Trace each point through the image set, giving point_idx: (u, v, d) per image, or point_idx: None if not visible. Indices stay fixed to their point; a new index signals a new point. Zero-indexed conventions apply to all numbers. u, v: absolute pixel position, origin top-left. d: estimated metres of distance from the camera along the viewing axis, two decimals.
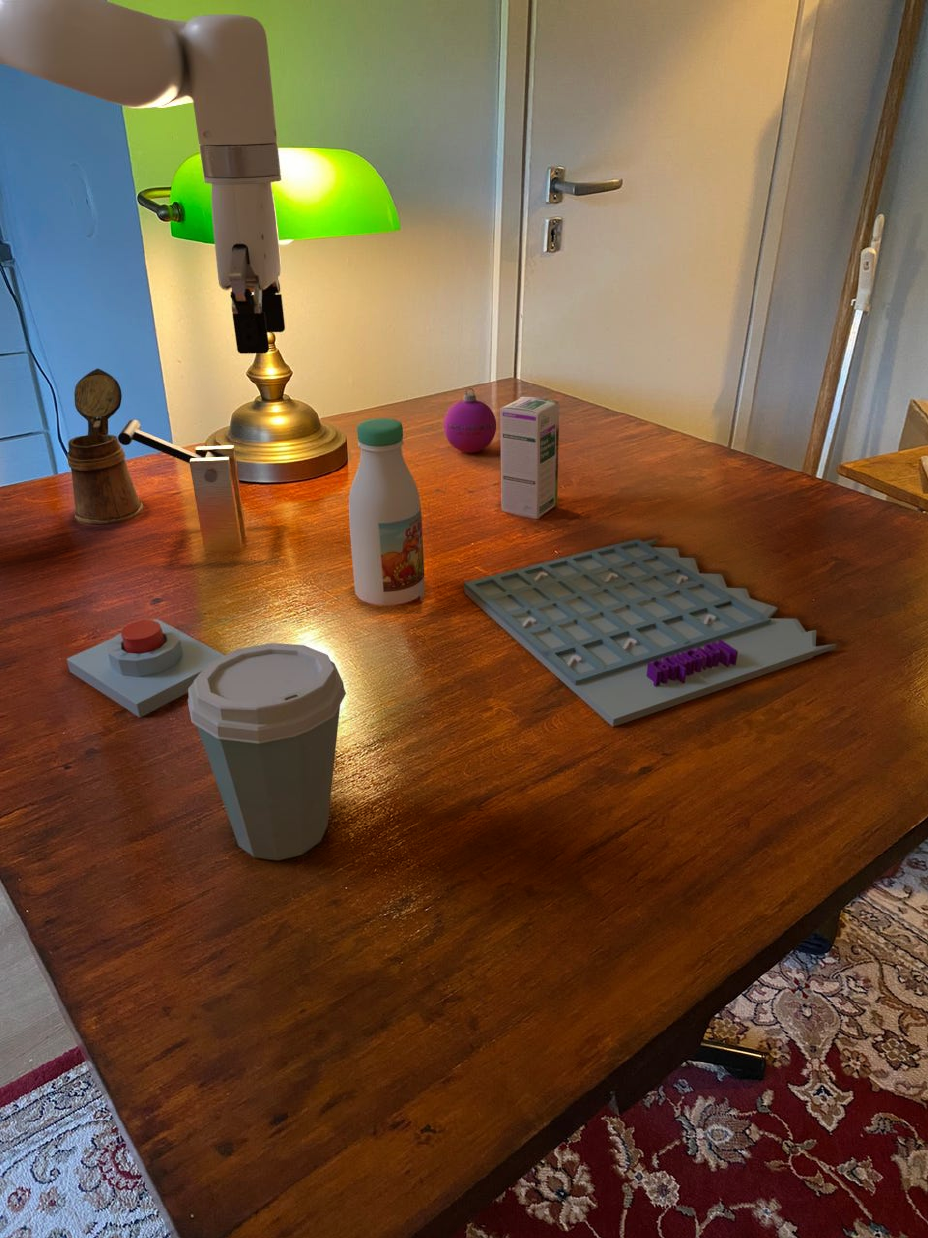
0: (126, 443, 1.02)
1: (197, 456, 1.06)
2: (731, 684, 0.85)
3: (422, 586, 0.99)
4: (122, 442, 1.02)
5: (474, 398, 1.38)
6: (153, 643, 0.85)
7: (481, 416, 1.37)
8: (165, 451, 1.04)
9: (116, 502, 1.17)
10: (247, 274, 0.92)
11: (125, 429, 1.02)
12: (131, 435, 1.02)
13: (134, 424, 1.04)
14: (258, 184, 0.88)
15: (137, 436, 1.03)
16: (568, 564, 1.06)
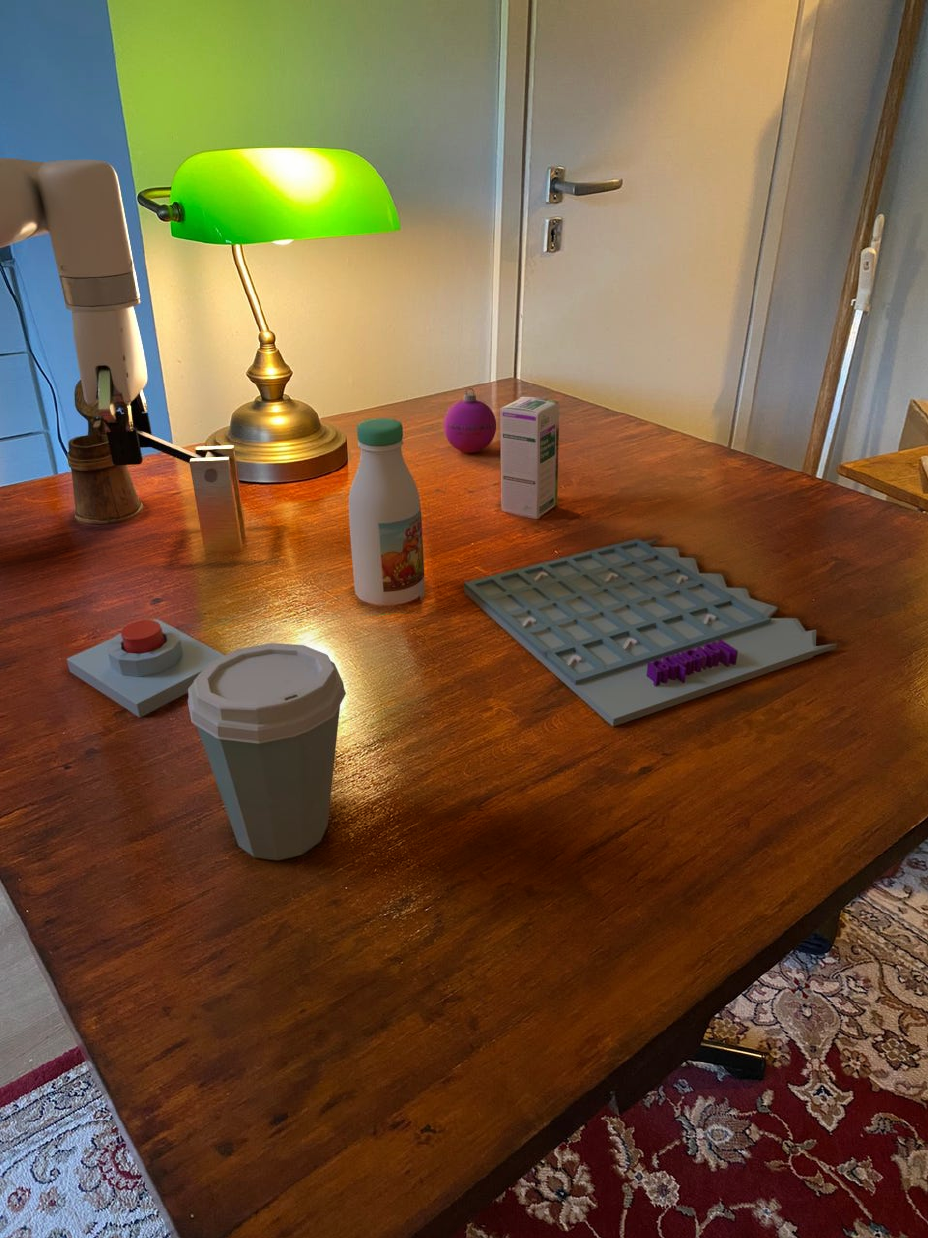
0: None
1: (197, 456, 1.06)
2: (731, 684, 0.85)
3: (422, 586, 0.99)
4: None
5: (474, 398, 1.38)
6: (153, 643, 0.85)
7: (481, 416, 1.37)
8: (165, 451, 1.04)
9: (116, 502, 1.17)
10: None
11: None
12: None
13: (134, 424, 1.04)
14: (117, 311, 0.94)
15: None
16: (568, 564, 1.06)
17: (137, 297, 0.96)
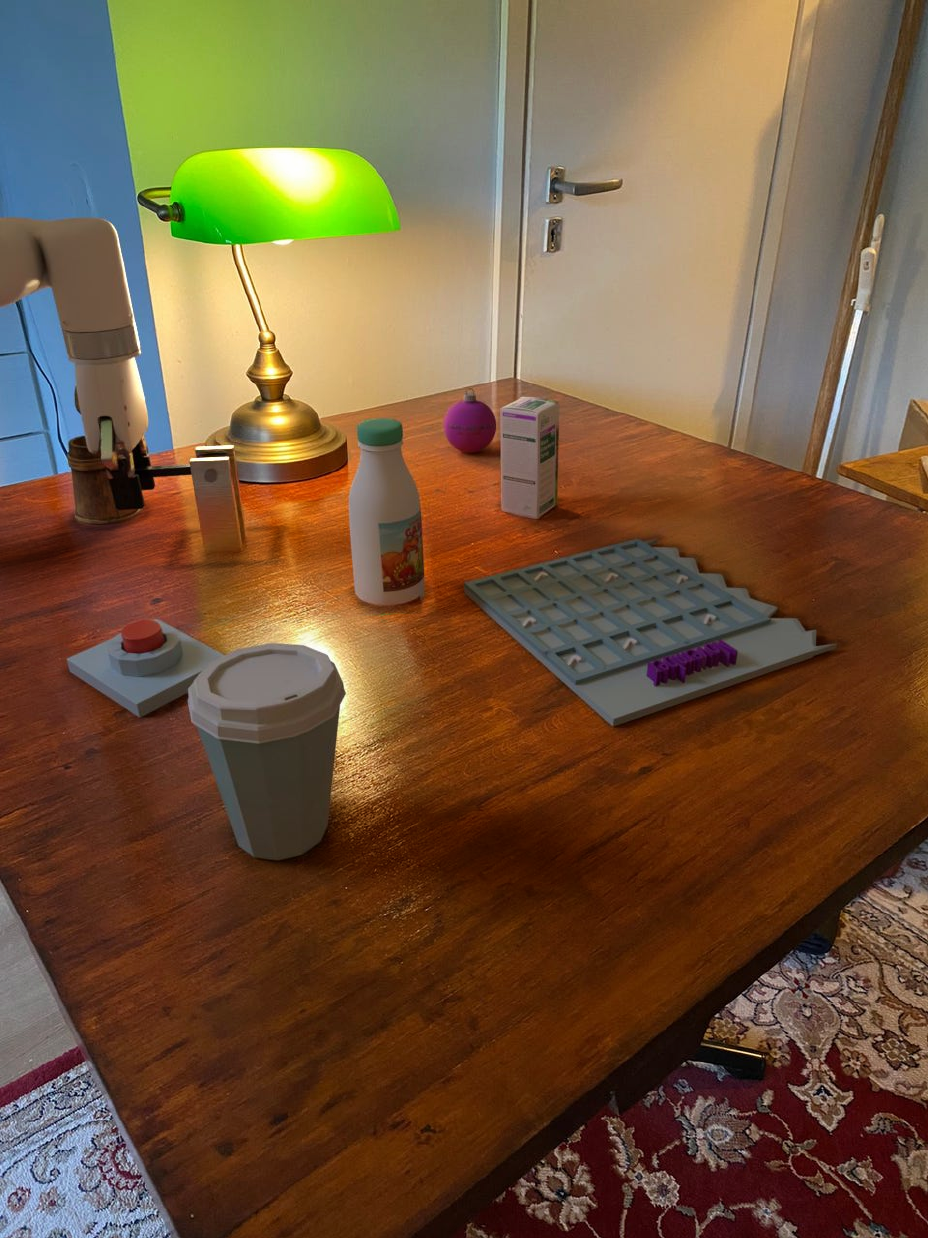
0: None
1: None
2: (731, 684, 0.85)
3: (422, 586, 0.99)
4: None
5: (474, 398, 1.38)
6: (153, 643, 0.85)
7: (481, 416, 1.37)
8: (165, 474, 1.06)
9: None
10: None
11: None
12: None
13: None
14: (118, 363, 0.97)
15: (135, 473, 1.05)
16: (568, 564, 1.06)
17: (137, 348, 0.99)
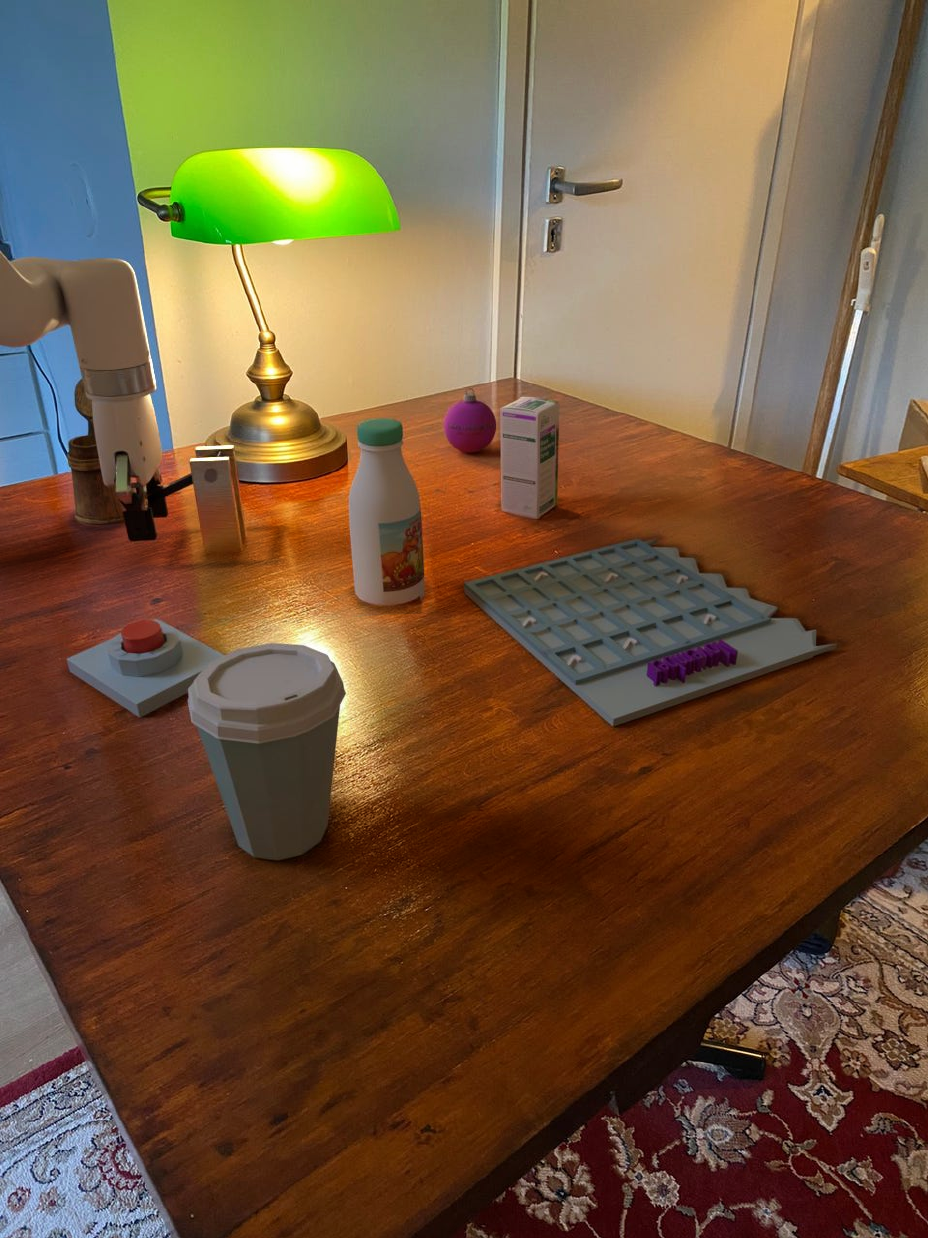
0: None
1: None
2: (731, 684, 0.85)
3: (422, 586, 0.99)
4: None
5: (474, 398, 1.38)
6: (153, 643, 0.85)
7: (481, 416, 1.37)
8: (173, 491, 1.07)
9: (116, 502, 1.17)
10: None
11: None
12: None
13: (139, 494, 1.08)
14: (134, 400, 0.99)
15: None
16: (568, 564, 1.06)
17: (153, 385, 1.01)
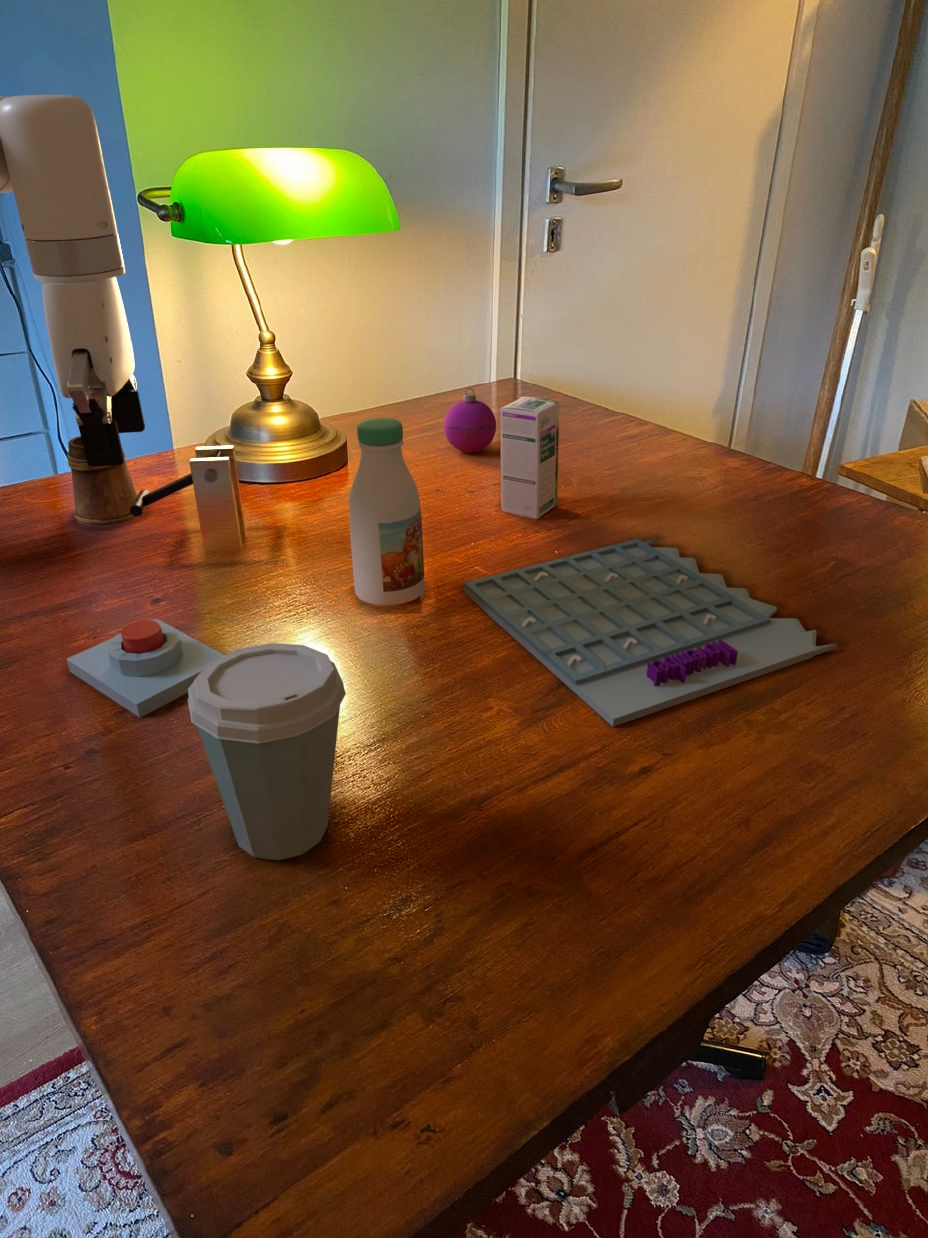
0: (140, 512, 1.06)
1: None
2: (731, 684, 0.85)
3: (422, 586, 0.99)
4: (137, 514, 1.06)
5: (474, 398, 1.38)
6: (153, 643, 0.85)
7: (481, 416, 1.37)
8: (173, 491, 1.07)
9: (116, 502, 1.17)
10: (92, 379, 0.81)
11: (133, 503, 1.07)
12: (138, 503, 1.06)
13: (139, 494, 1.08)
14: (97, 281, 0.77)
15: (146, 500, 1.07)
16: (568, 564, 1.06)
17: (121, 266, 0.79)
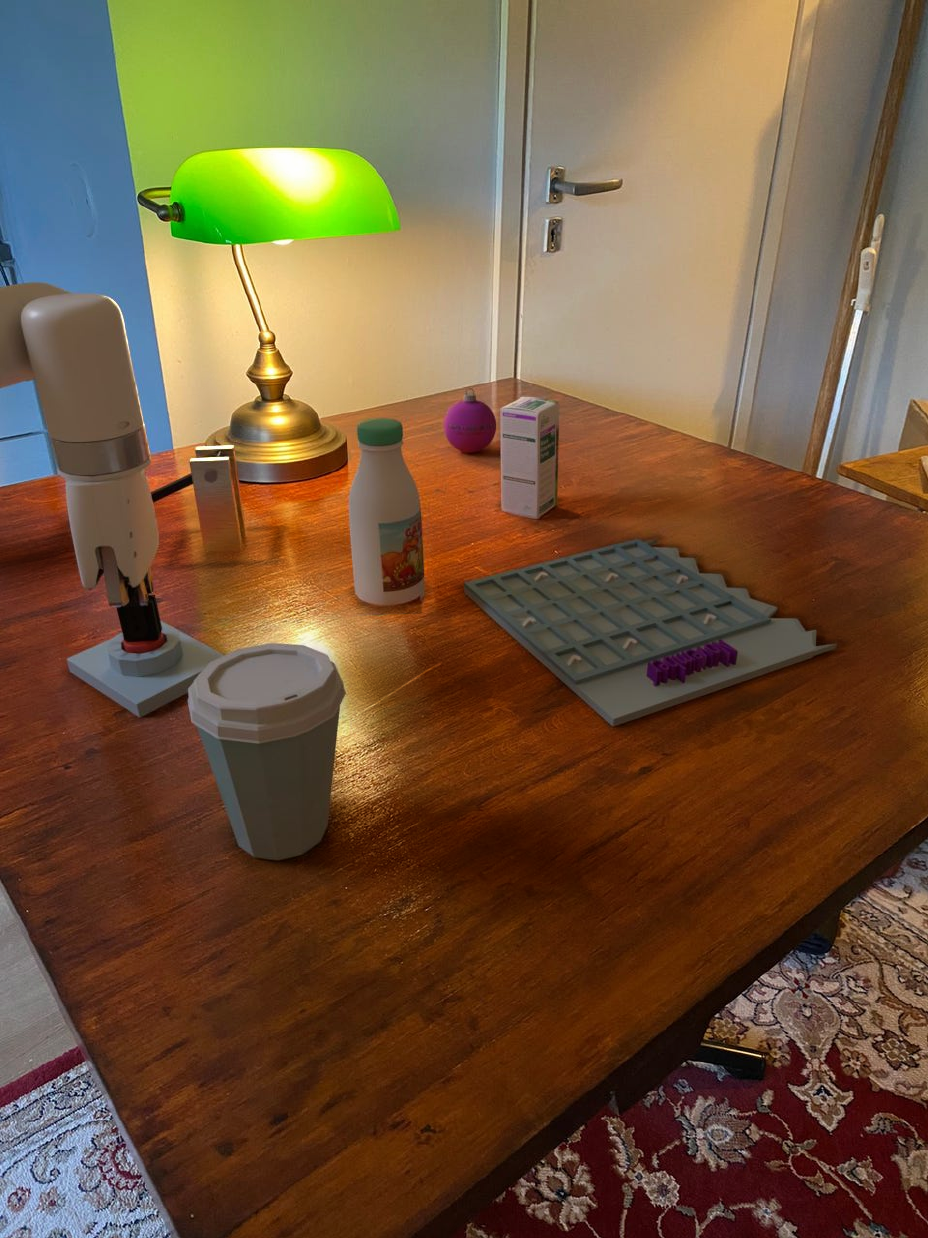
0: None
1: None
2: (731, 684, 0.85)
3: (422, 586, 0.99)
4: None
5: (474, 398, 1.38)
6: None
7: (481, 416, 1.37)
8: (173, 491, 1.07)
9: None
10: None
11: None
12: None
13: None
14: (122, 479, 0.75)
15: None
16: (568, 564, 1.06)
17: (147, 457, 0.77)
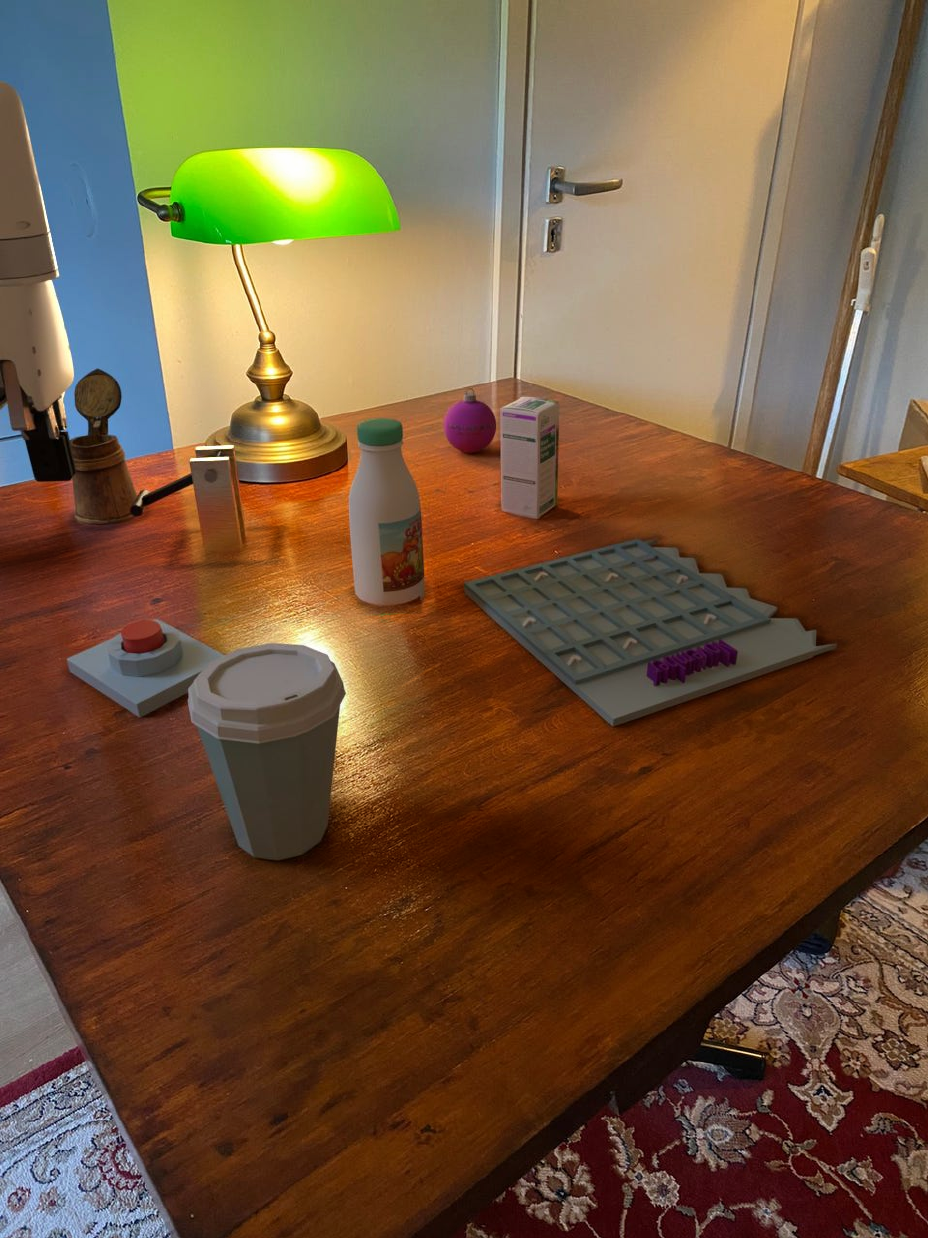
0: (140, 512, 1.06)
1: None
2: (731, 684, 0.85)
3: (422, 586, 0.99)
4: (137, 514, 1.06)
5: (474, 398, 1.38)
6: (153, 643, 0.85)
7: (481, 416, 1.37)
8: (173, 491, 1.07)
9: (116, 502, 1.17)
10: None
11: (133, 503, 1.07)
12: (138, 503, 1.06)
13: (139, 494, 1.08)
14: (23, 286, 0.70)
15: (146, 500, 1.07)
16: (568, 564, 1.06)
17: (53, 269, 0.72)
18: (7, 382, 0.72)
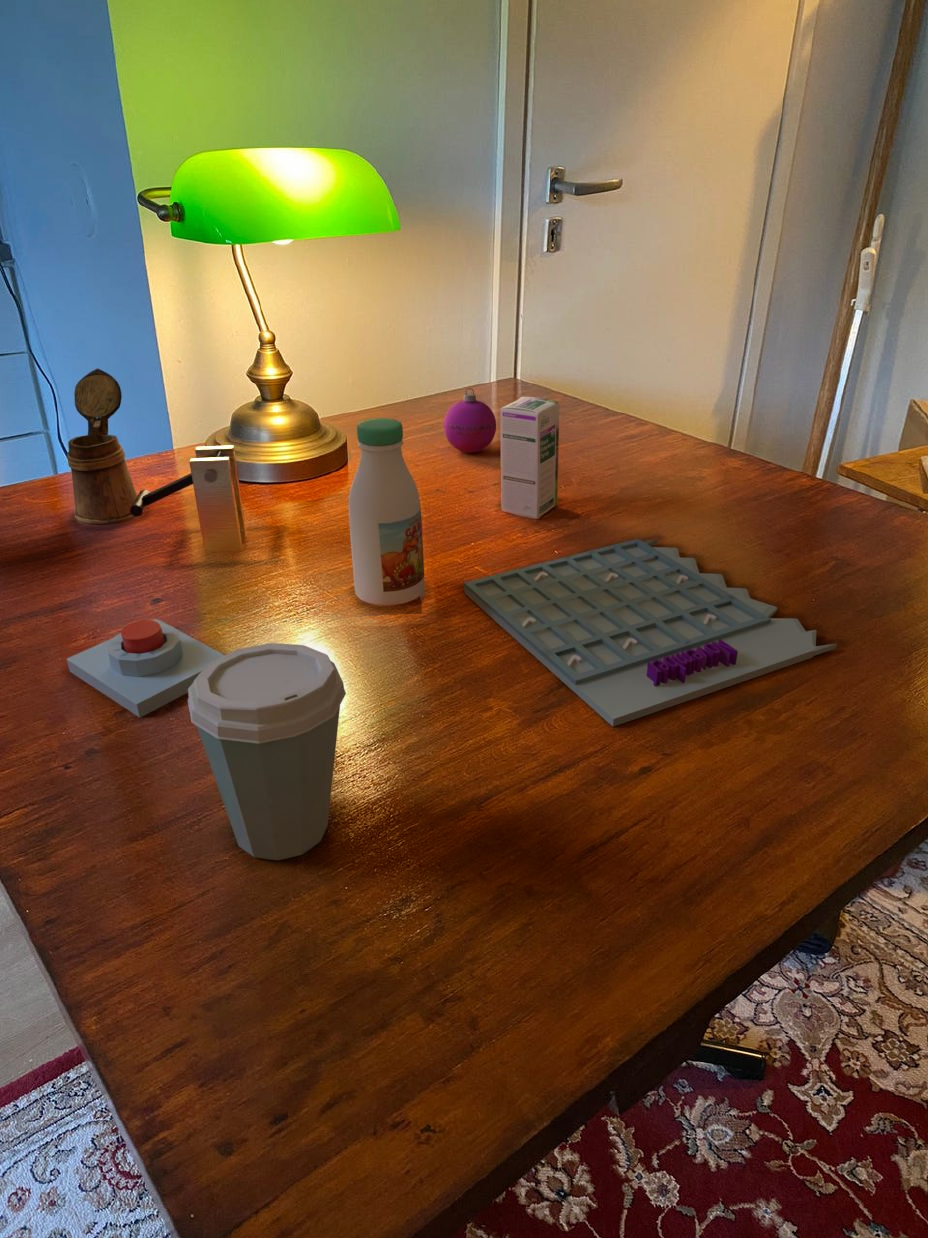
0: (140, 512, 1.06)
1: None
2: (731, 684, 0.85)
3: (422, 586, 0.99)
4: (137, 514, 1.06)
5: (474, 398, 1.38)
6: (153, 643, 0.85)
7: (481, 416, 1.37)
8: (173, 491, 1.07)
9: (116, 502, 1.17)
10: None
11: (133, 503, 1.07)
12: (138, 503, 1.06)
13: (139, 494, 1.08)
14: None
15: (146, 500, 1.07)
16: (568, 564, 1.06)
17: None
18: None
